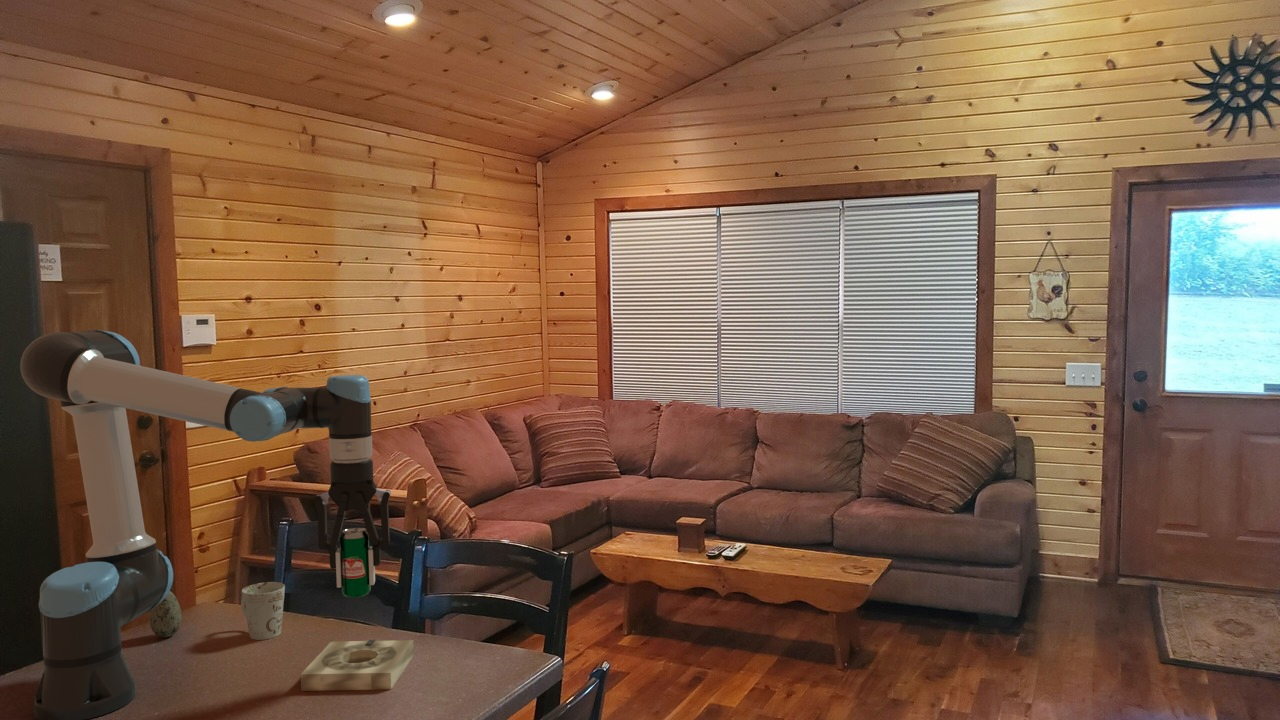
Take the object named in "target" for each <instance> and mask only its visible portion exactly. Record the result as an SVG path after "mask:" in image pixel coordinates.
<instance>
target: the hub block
mask: <svg viewBox="0 0 1280 720" xmlns="http://www.w3.org/2000/svg"><path fill="white" fill-rule="evenodd" d="M414 655H415V653H414V640H413V639H407V640H406V639H404V640H399V639H398V640H376V639H368V640H357V641H356V640H349V641H346V640H345V641H330V642H329V643H328V644H327V646H325V647H324V648H323V650H322V651H321V652H320V653H319V654H318V655H317V656H316V657H315V658H314V659H313V661H311V662H310V664H309V665H308V666H306V668H305V669H304V670H303V671H302V672H301V674H300V688H301V691H303V692H306V691H307V692H308V691H311V692H312V691H367V690H369V691H371V690H375V691H377V690H392V689H393V687H394V686H395V684H396V683H397V681H398V679H399V678H400V677H401V676H402V674H403V672H404V671H405V669H406V668H407V666H408V665H409V663H410V661H411V660H412V659H413V657H414ZM301 691H300V692H301Z"/></svg>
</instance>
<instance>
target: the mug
mask: <svg viewBox="0 0 1280 720" xmlns="http://www.w3.org/2000/svg"><path fill="white" fill-rule="evenodd" d="M285 589H286V585H285V584H284V583H282V582H280V581H279V582H277V581H276V582H275V581H268V582H267V581H266V582H259V583H255V584H251V585H247V586H245V587H243V588H242V590H241V601H240V609H241V611H242V614H243V616H244V617H245V619H246V623H247V629H248V634H249V635H248V636H249V639H252V640H254V639H255V641H263V640H269V639H273V638H276V637H278V636H279V635H281V634H282V633H281V632H282V625H283V615H284V614H283V613H284V601H285V591H286V590H285Z"/></svg>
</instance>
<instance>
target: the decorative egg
mask: <svg viewBox="0 0 1280 720" xmlns="http://www.w3.org/2000/svg"><path fill="white" fill-rule="evenodd" d="M149 612H150V614H149V626H150V629H151V631H152V632H153V634H154V635H156V636H158V637H160V638H168V637H169V638H170V637H172V636H174V635H175V634H176V633H177V632H178V631H179V629H180V627H181V624H182V619H183V618H182V617H183V616H182V609H181V607H180V603H179V601H178V599H177V597H176V596H175V594H174V593H173V592H172V591H171V590H170V591H169V593H168V595H167V596H166V597H165V599H164V600H163V601H162V602H160V603H159V604H158V605H157V606H156V607H155V608H153V609H152V610H151V611H149Z"/></svg>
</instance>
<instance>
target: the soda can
mask: <svg viewBox="0 0 1280 720" xmlns="http://www.w3.org/2000/svg"><path fill="white" fill-rule="evenodd" d="M339 546H340V548H339V549H340V551H341V576H342V587H341V592H342V595H343V596H344V597H346V598H352V599H354V598H362V597H365V596H367V595H369V594H370V592H371V590H372V589H371V588H372V587H371V586H372V585H370V581H369V555H368V550H369V547H370V538H369V535H368V532H367V529H366V527H365V528H364V527H350V528H346V529H343V530H341V534H340V537H339Z"/></svg>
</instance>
